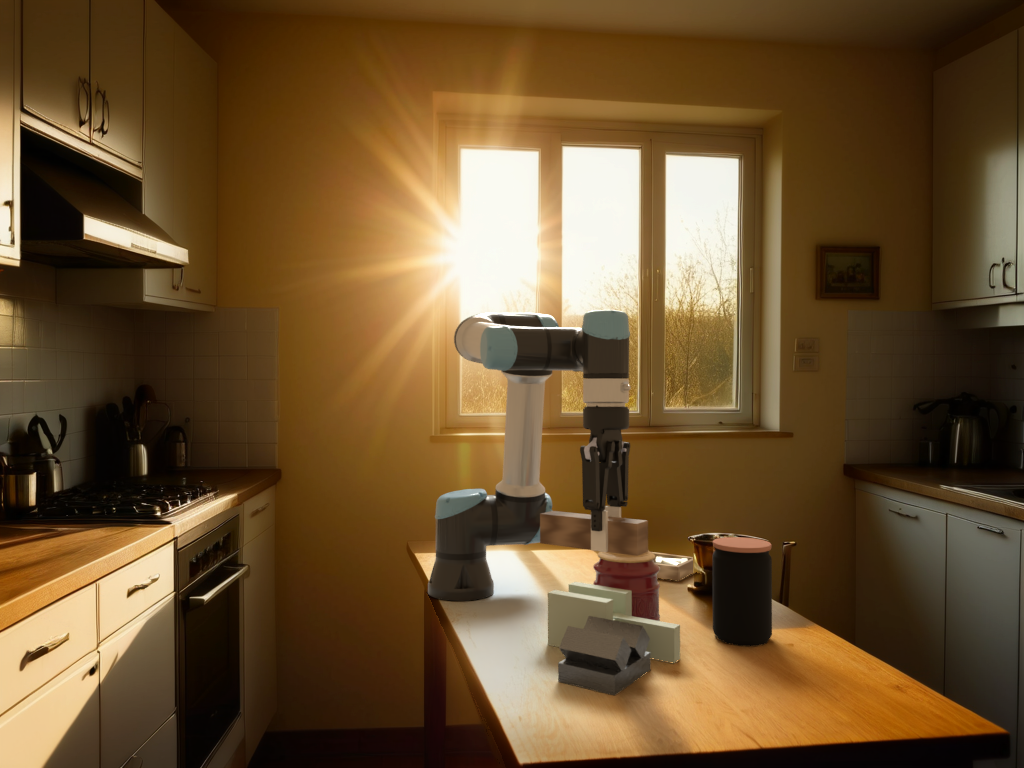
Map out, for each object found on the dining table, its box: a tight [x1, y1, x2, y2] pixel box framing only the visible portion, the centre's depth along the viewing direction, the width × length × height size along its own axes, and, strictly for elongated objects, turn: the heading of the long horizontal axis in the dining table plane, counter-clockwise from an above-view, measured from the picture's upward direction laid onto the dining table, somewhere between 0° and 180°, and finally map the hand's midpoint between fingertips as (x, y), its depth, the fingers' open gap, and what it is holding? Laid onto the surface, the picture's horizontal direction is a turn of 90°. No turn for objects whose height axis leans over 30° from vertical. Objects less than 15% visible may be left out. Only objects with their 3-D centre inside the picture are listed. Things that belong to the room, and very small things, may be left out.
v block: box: [557, 616, 651, 696], centre depth 127 cm, size 10×13×8 cm
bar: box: [539, 510, 649, 556], centre depth 129 cm, size 18×4×5 cm, turn 55°
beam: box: [547, 581, 681, 664], centre depth 140 cm, size 23×10×10 cm, turn 55°
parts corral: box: [650, 551, 693, 581], centre depth 200 cm, size 14×13×4 cm
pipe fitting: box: [655, 557, 688, 566], centre depth 200 cm, size 8×4×7 cm
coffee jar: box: [712, 536, 773, 647], centre depth 147 cm, size 11×11×18 cm
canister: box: [592, 549, 661, 621], centre depth 154 cm, size 13×13×18 cm
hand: (606, 548), depth 127 cm, fingers closed on bar, 4 cm apart
